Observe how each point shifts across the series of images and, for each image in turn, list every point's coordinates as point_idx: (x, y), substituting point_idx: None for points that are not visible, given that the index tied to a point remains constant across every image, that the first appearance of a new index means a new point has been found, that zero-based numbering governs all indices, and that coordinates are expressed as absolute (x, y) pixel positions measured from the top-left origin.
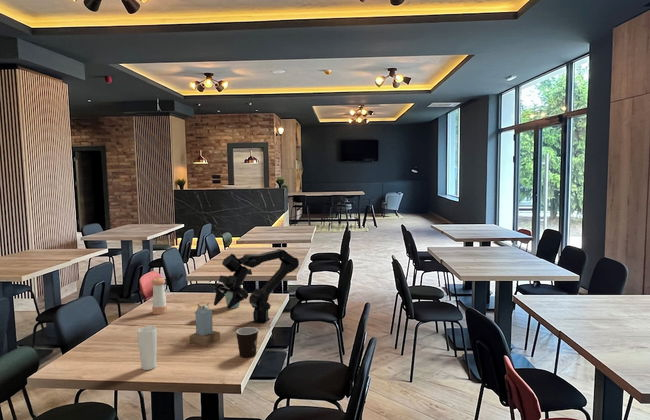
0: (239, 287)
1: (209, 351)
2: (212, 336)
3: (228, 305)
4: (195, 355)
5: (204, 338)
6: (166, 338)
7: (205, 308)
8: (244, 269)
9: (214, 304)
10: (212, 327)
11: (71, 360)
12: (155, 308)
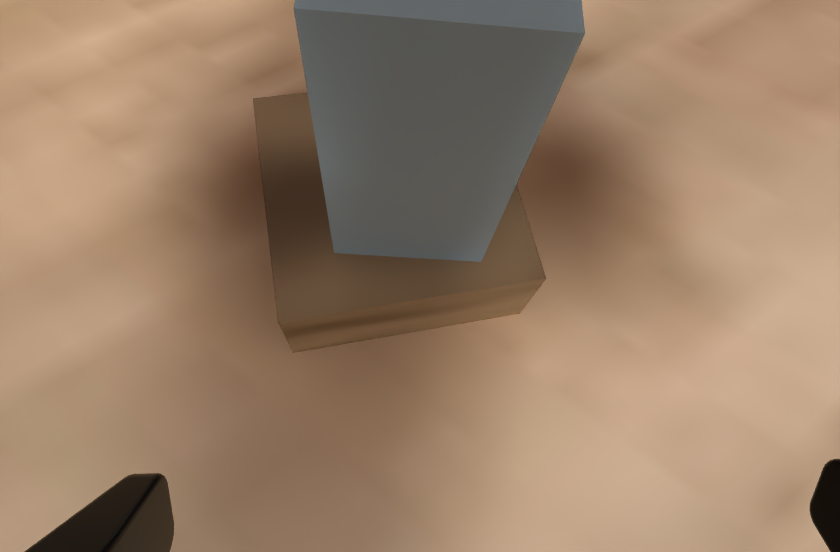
0: None
1: (160, 114)
2: (266, 203)
3: (91, 526)
4: (210, 19)
5: (273, 100)
6: (746, 109)
7: (559, 20)
8: None
9: (832, 469)
10: (329, 219)
11: None
12: None
